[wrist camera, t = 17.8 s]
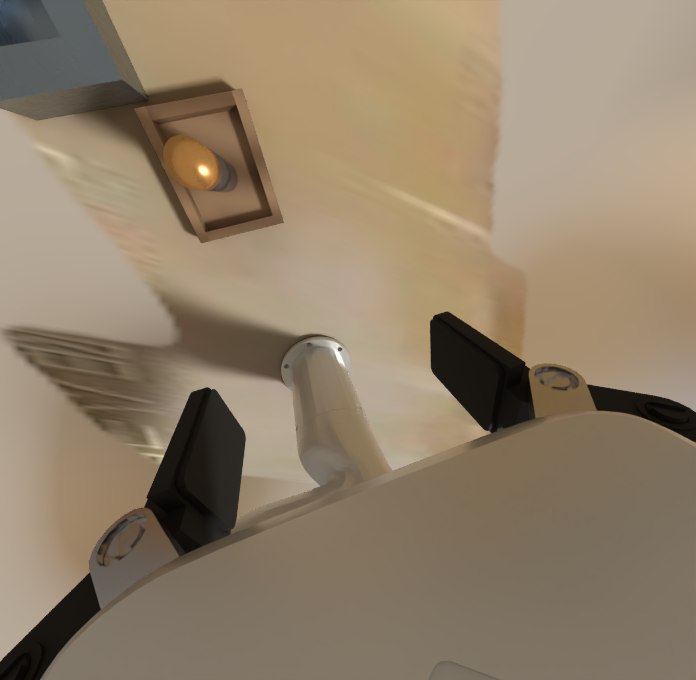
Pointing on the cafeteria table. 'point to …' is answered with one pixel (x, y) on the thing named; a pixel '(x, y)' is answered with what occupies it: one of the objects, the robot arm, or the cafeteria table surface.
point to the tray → (231, 144)
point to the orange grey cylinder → (198, 165)
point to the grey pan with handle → (62, 59)
